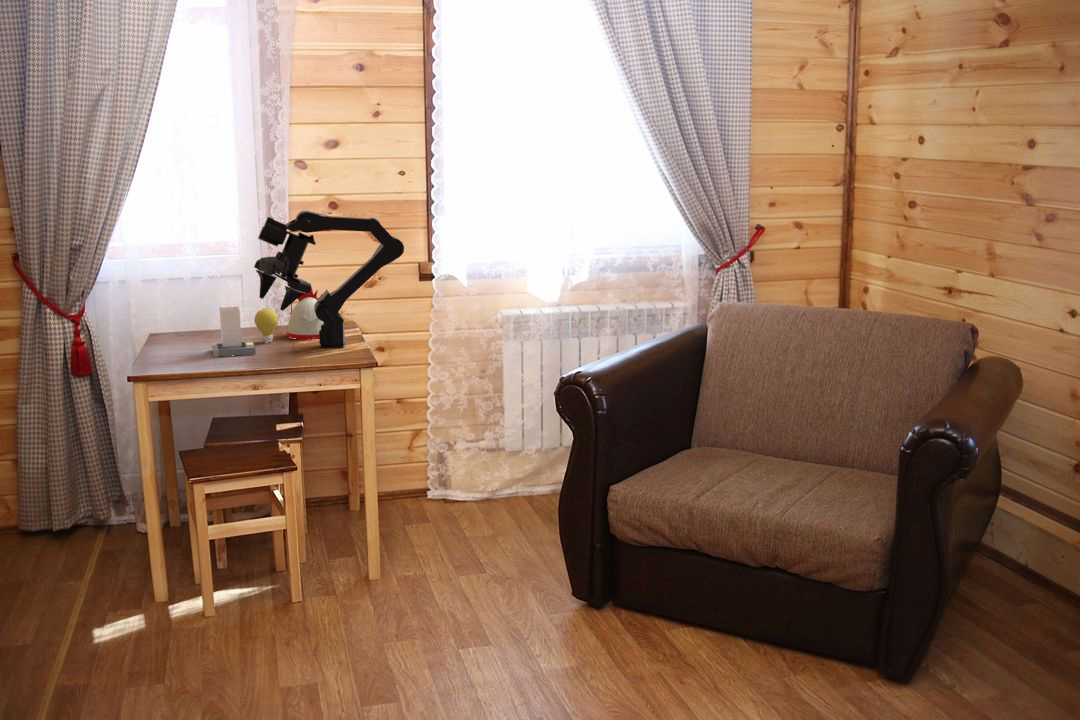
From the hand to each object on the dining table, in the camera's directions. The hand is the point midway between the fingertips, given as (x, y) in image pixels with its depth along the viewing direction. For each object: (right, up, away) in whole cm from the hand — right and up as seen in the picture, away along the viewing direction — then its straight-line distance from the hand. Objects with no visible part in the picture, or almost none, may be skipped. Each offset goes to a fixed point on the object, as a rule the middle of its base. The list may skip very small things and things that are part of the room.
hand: (271, 304), depth 299 cm
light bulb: (-4, -11, +12) cm, 17 cm away
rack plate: (-10, -14, -2) cm, 17 cm away
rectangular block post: (-10, -14, -2) cm, 17 cm away
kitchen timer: (+6, -9, +22) cm, 25 cm away
